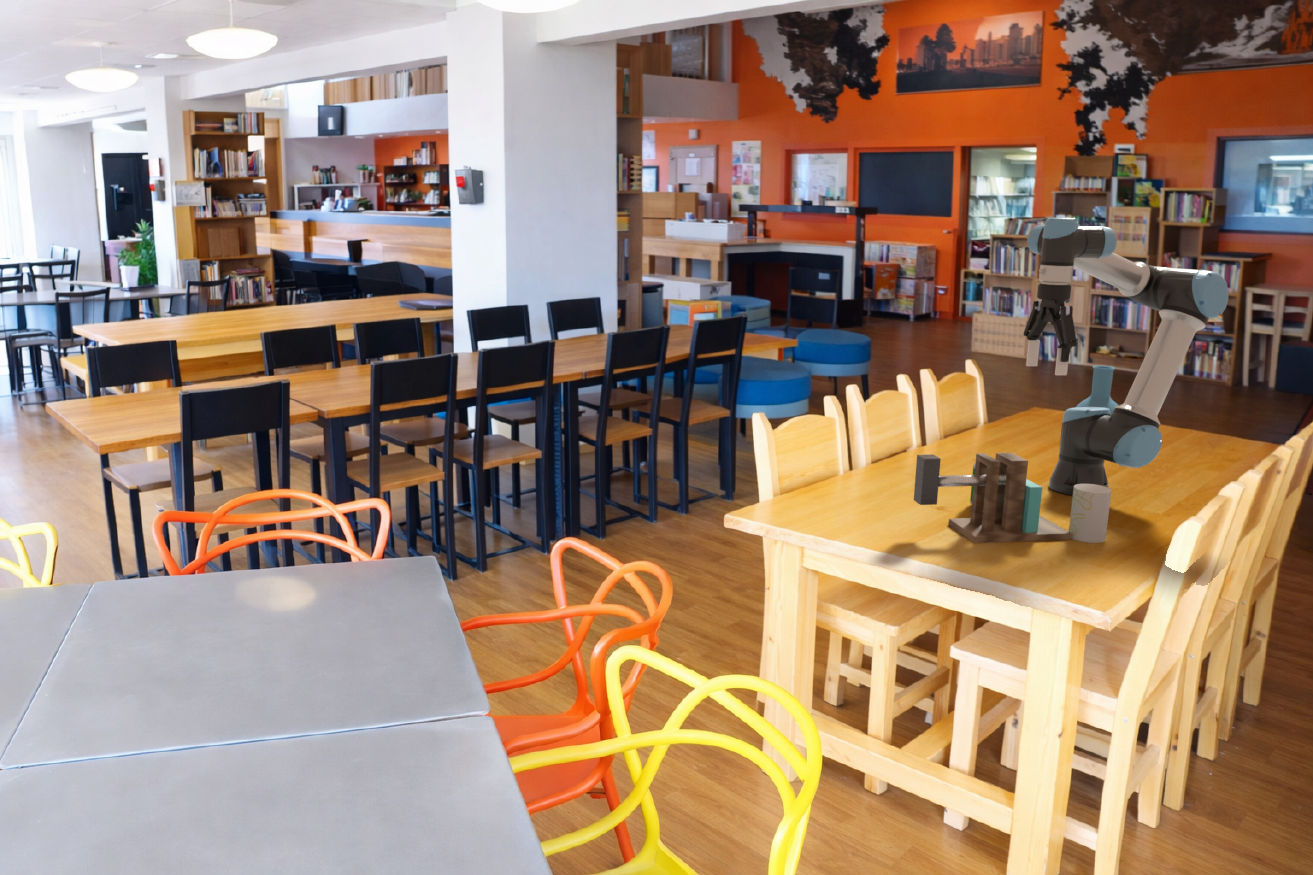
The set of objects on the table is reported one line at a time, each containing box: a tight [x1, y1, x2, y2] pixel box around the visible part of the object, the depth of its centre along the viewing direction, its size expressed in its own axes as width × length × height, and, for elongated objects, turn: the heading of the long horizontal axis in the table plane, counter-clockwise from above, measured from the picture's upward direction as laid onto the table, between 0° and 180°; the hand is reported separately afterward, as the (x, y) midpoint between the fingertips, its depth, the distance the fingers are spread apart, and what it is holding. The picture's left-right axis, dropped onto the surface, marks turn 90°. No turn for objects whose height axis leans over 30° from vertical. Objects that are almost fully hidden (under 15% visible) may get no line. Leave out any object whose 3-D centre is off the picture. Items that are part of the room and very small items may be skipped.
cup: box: [1068, 484, 1112, 544], centre depth 245 cm, size 8×8×12 cm
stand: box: [948, 452, 1072, 544], centre depth 247 cm, size 24×14×18 cm, turn 100°
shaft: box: [913, 453, 1006, 506], centre depth 244 cm, size 23×4×11 cm, turn 100°
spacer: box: [1021, 478, 1043, 533], centre depth 248 cm, size 3×11×11 cm, turn 9°
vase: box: [1075, 365, 1119, 416], centre depth 344 cm, size 16×16×25 cm
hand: (1045, 370), depth 255 cm, fingers open, 13 cm apart
